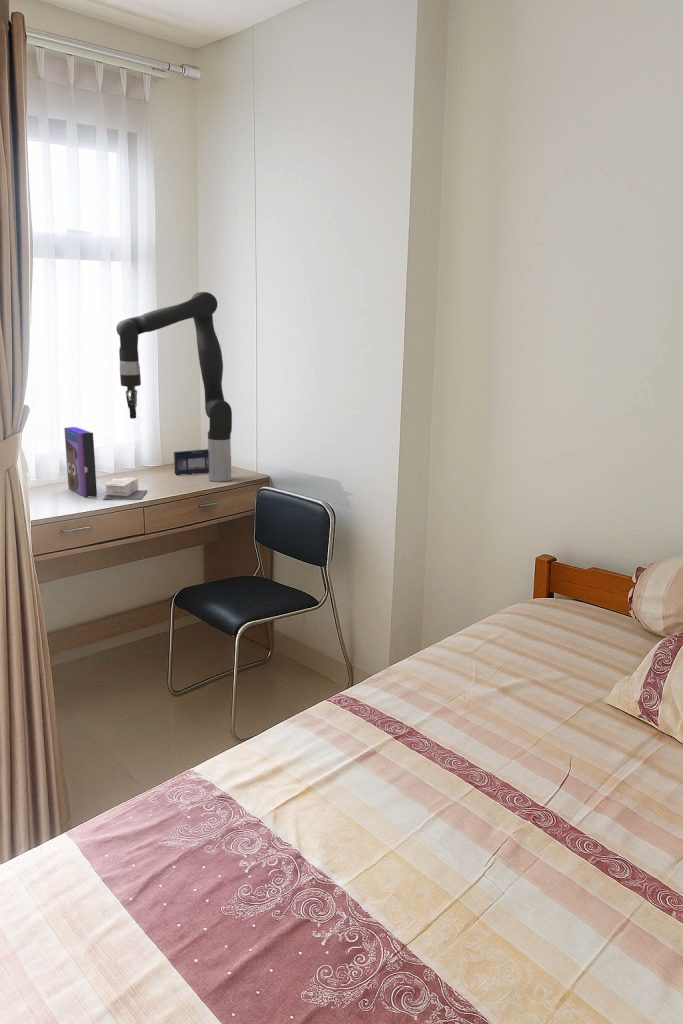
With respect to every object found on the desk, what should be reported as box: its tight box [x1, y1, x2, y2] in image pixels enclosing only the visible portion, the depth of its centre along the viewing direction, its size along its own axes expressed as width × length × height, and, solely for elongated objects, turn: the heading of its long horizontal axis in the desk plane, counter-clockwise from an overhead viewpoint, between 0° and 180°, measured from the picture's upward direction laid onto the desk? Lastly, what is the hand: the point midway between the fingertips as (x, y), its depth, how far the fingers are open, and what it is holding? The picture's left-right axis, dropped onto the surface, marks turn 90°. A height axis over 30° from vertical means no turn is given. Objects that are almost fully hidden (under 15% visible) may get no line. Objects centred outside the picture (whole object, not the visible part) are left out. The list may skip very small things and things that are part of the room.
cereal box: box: [63, 426, 98, 498], centre depth 294 cm, size 17×5×24 cm, turn 37°
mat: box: [102, 489, 148, 500], centre depth 293 cm, size 14×14×1 cm
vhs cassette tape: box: [173, 448, 209, 476], centre depth 335 cm, size 18×3×10 cm, turn 119°
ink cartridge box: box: [103, 476, 139, 496], centre depth 294 cm, size 9×5×15 cm
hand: (133, 418), depth 303 cm, fingers closed
